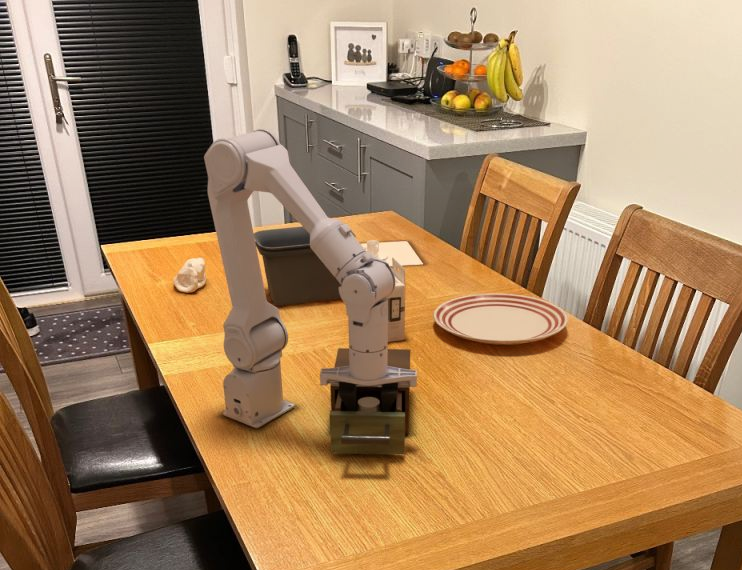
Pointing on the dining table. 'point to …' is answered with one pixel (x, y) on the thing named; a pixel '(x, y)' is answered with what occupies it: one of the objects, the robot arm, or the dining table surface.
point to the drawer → (368, 428)
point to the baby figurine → (191, 275)
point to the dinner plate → (500, 318)
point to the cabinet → (395, 359)
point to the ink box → (397, 305)
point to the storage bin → (294, 267)
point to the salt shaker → (368, 405)
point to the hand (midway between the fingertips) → (369, 425)
